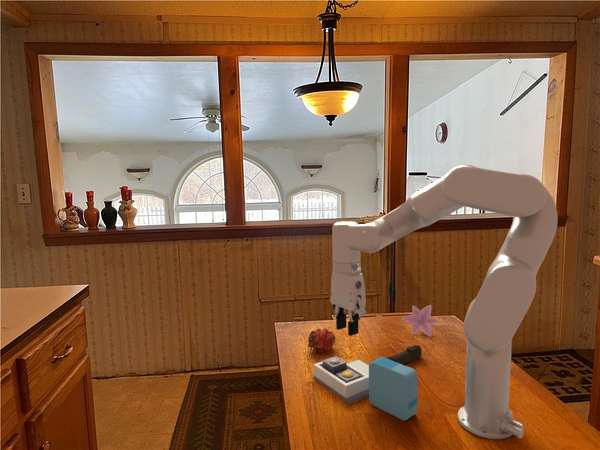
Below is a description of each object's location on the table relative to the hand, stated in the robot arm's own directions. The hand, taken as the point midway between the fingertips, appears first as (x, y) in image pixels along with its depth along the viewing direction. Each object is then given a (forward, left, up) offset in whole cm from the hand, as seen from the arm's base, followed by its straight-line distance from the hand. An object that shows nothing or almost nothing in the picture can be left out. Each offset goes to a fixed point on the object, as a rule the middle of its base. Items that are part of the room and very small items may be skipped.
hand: (347, 330), depth 112 cm
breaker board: (+3, -4, -17) cm, 18 cm away
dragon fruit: (+25, -9, -18) cm, 32 cm away
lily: (+16, -49, -18) cm, 55 cm away
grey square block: (+6, 0, -14) cm, 16 cm away
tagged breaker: (0, 0, -16) cm, 16 cm away
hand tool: (+3, -23, -18) cm, 29 cm away
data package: (-14, -3, -18) cm, 23 cm away
